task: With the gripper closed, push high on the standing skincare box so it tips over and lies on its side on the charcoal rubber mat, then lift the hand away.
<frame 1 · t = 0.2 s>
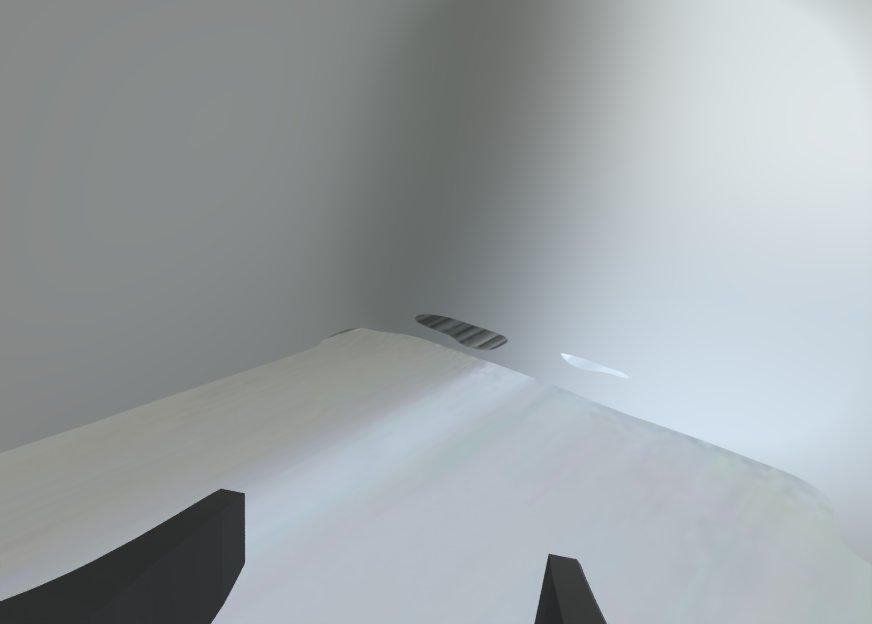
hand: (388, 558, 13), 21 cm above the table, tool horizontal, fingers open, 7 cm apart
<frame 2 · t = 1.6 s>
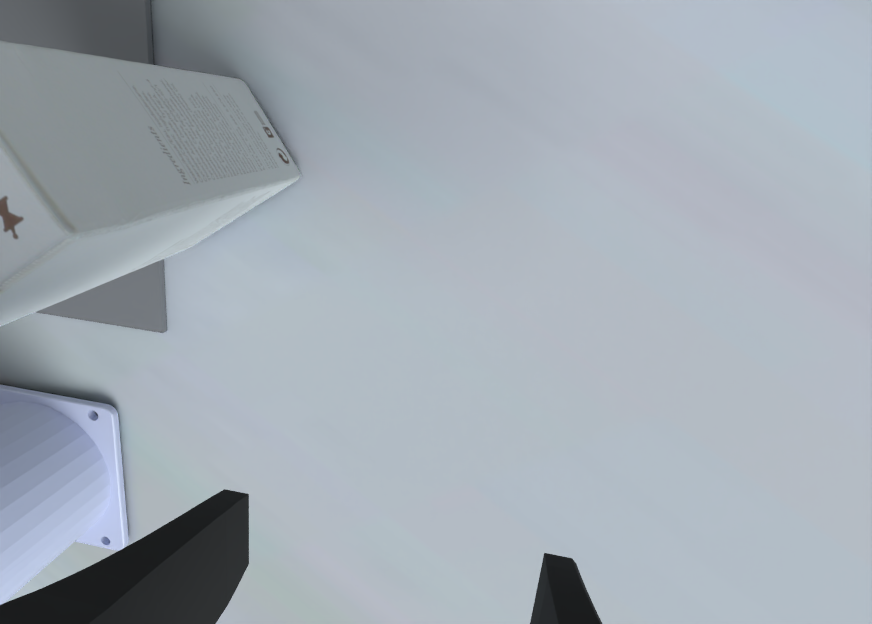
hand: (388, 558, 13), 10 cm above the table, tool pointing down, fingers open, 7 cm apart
skincare box: (217, 172, 22), on the table, touching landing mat
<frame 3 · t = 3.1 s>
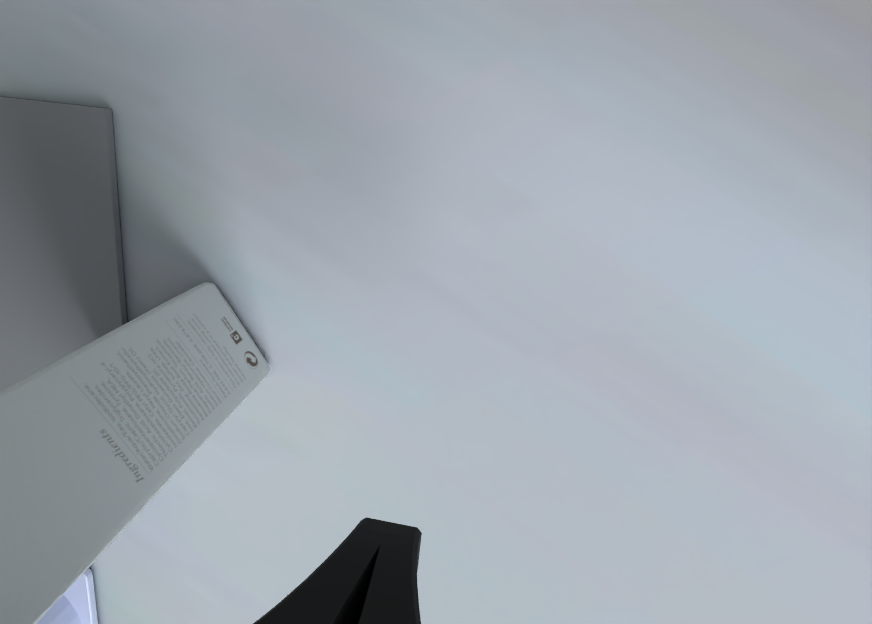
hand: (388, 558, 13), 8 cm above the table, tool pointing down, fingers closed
skincare box: (188, 360, 22), on the table, touching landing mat
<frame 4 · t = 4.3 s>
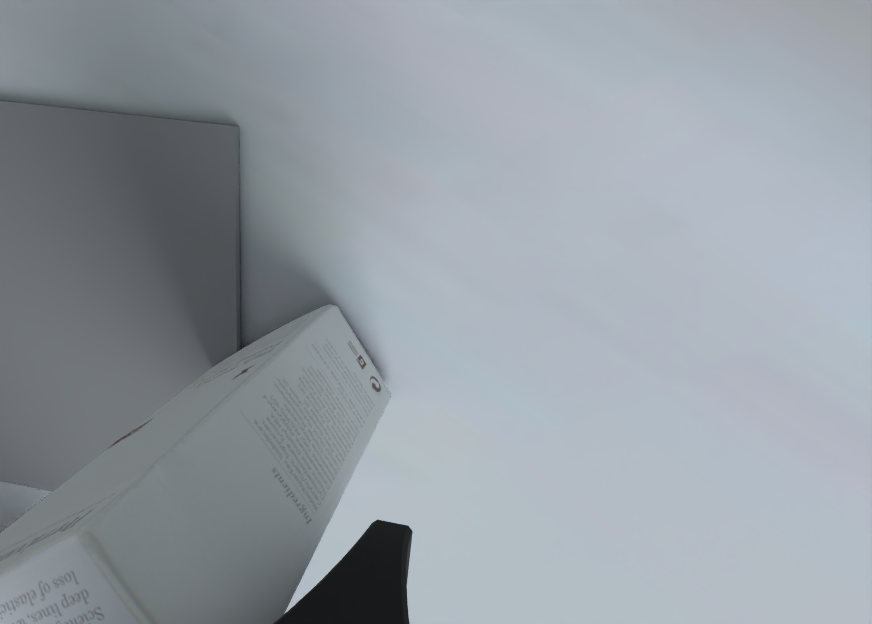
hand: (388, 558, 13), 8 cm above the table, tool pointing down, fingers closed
skincare box: (302, 383, 21), on the table, touching gripper, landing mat
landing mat: (44, 317, 22), on the table
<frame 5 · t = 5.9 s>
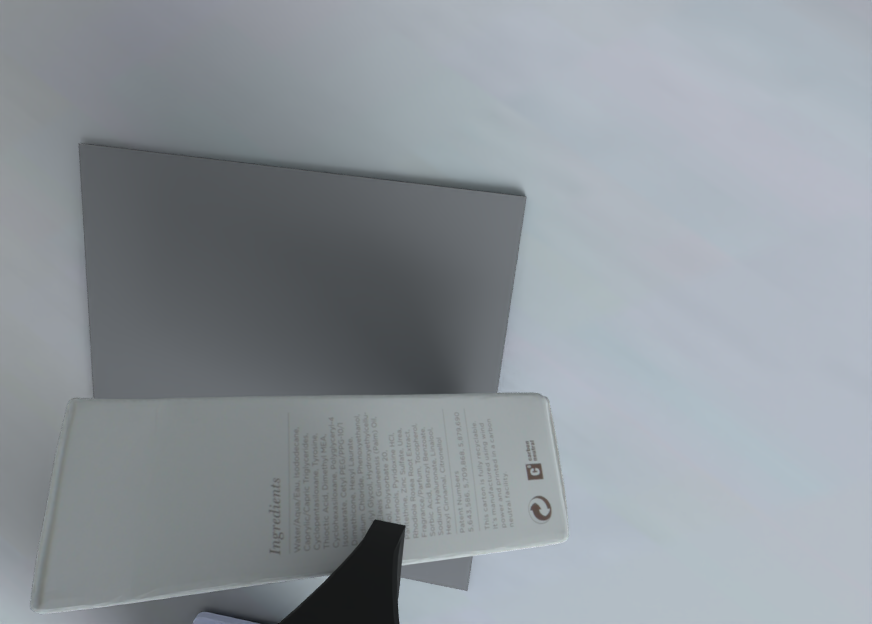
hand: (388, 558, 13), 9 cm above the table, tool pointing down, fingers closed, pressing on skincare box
skincare box: (514, 480, 18), point 3 cm above the table, touching gripper, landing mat
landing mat: (286, 376, 22), on the table
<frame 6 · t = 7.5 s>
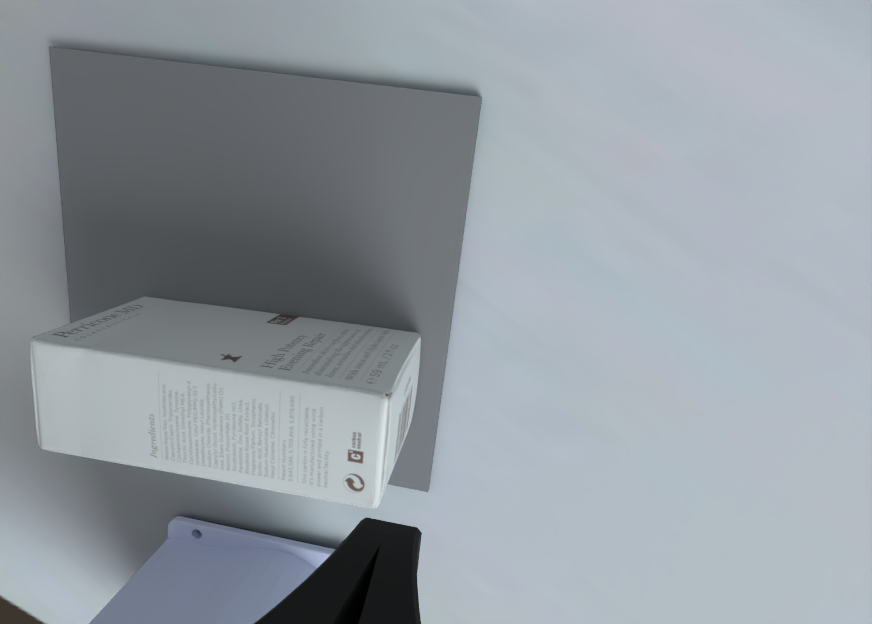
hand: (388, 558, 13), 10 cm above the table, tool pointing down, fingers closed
skincare box: (411, 415, 20), point 3 cm above the table, touching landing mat
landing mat: (254, 281, 23), on the table
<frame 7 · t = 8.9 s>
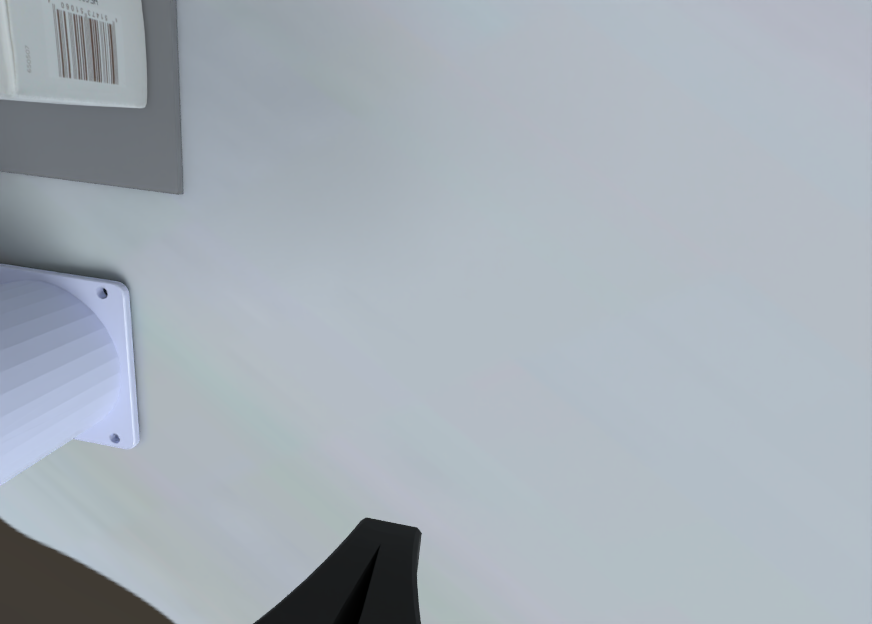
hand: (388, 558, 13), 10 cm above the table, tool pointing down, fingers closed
skincare box: (99, 43, 18), point 3 cm above the table, touching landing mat
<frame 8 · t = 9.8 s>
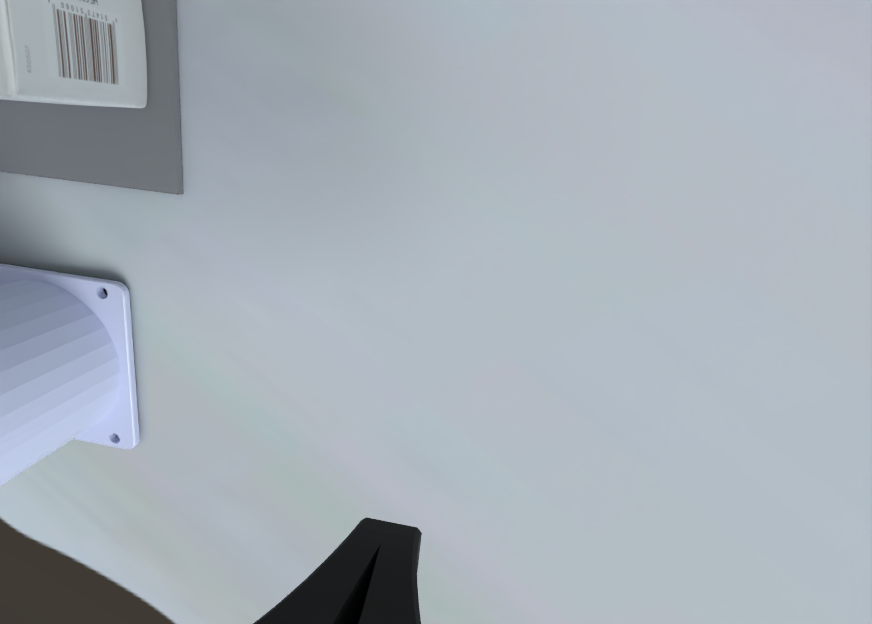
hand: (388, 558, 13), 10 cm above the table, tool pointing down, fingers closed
skincare box: (99, 43, 18), point 3 cm above the table, touching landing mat
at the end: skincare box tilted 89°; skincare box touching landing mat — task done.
